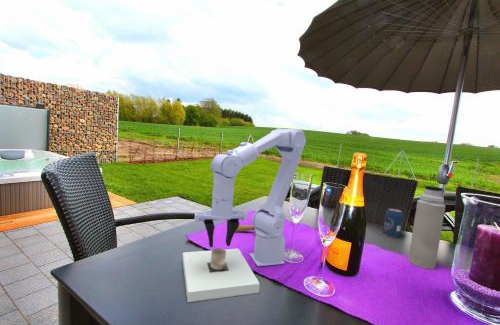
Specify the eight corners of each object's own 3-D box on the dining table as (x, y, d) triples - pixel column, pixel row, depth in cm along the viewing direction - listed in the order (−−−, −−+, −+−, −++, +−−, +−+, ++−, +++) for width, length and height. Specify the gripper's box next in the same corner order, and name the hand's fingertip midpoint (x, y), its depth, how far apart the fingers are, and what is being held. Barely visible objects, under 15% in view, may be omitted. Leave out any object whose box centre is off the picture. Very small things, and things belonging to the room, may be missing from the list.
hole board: (237, 255, 82) (238, 248, 82) (258, 292, 64) (259, 283, 63) (182, 260, 77) (182, 252, 76) (187, 302, 58) (188, 292, 58)
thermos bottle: (410, 255, 94) (421, 183, 91) (436, 264, 88) (449, 188, 86) (406, 262, 88) (418, 185, 85) (433, 271, 83) (447, 190, 80)
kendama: (233, 239, 99) (278, 237, 98) (232, 223, 100) (277, 221, 99) (235, 235, 107) (276, 233, 106) (234, 220, 107) (275, 218, 107)
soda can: (379, 232, 117) (383, 207, 116) (391, 231, 119) (395, 207, 118) (391, 238, 111) (394, 212, 110) (403, 237, 112) (407, 212, 111)
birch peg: (222, 270, 73) (224, 247, 72) (225, 278, 69) (227, 254, 68) (208, 271, 71) (210, 248, 71) (211, 279, 68) (213, 255, 67)
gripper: (243, 194, 74) (240, 237, 75) (194, 194, 69) (191, 240, 71) (251, 200, 67) (247, 248, 69) (197, 200, 63) (194, 251, 64)
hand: (219, 245), depth 69 cm, fingers open, 4 cm apart
